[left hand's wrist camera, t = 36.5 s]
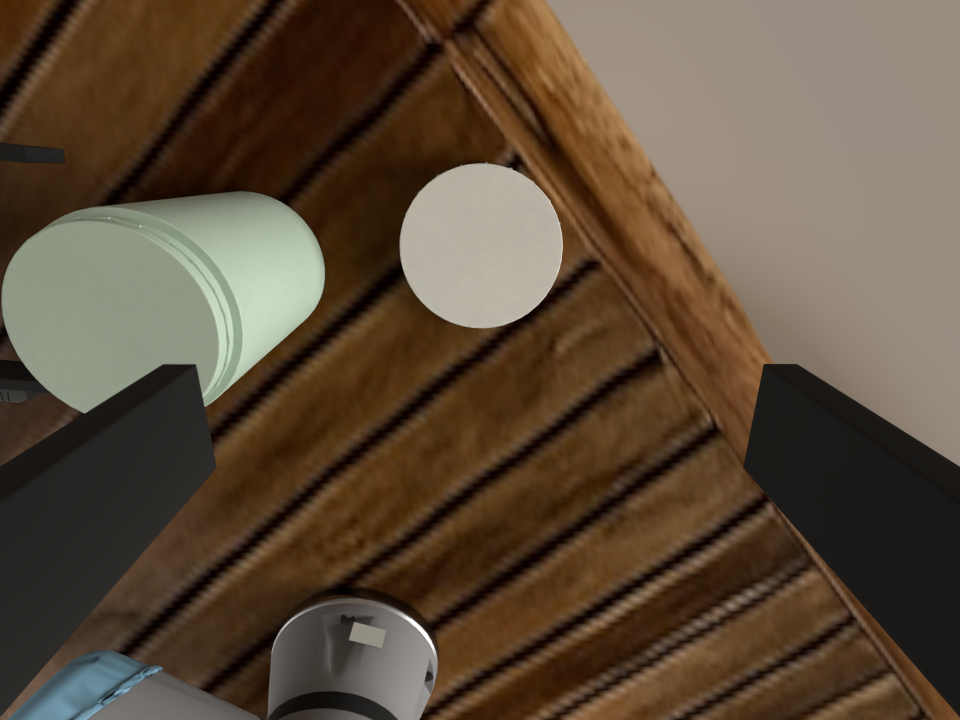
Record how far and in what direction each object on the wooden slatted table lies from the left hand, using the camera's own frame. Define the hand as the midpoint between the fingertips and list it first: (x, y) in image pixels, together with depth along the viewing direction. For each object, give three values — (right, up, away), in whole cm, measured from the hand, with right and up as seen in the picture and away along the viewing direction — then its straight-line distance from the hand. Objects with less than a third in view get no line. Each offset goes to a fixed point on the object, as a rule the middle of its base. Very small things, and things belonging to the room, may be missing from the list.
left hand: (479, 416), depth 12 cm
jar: (-16, +8, +25) cm, 31 cm away
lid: (0, +9, +24) cm, 25 cm away
